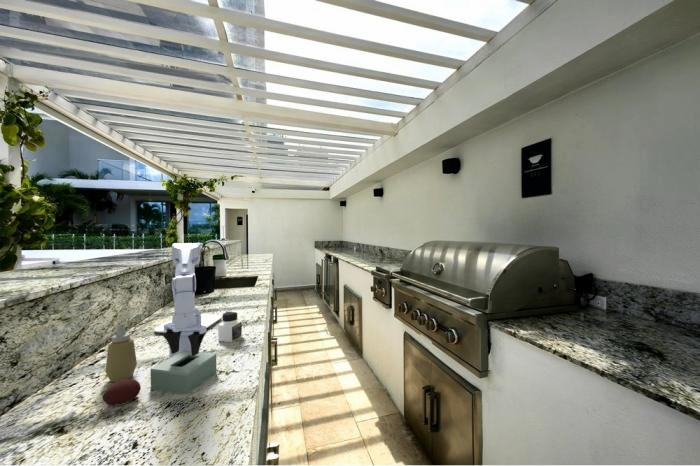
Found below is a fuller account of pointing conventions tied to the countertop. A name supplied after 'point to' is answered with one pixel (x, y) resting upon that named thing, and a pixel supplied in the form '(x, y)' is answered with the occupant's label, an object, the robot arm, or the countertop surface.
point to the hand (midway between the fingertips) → (185, 353)
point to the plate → (205, 321)
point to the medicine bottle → (229, 327)
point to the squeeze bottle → (121, 356)
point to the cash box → (183, 372)
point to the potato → (121, 392)
